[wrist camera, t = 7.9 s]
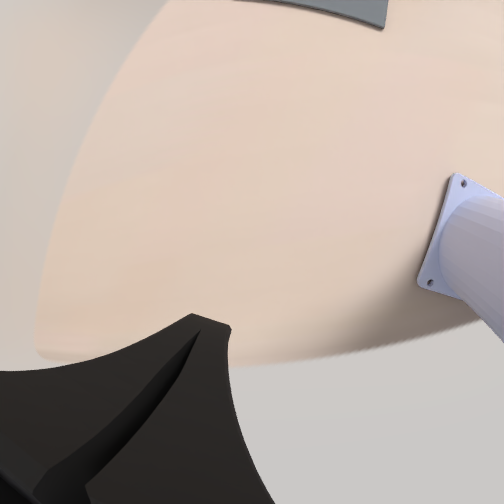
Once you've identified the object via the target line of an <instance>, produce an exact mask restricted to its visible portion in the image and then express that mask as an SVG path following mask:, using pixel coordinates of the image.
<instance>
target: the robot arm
mask: <svg viewBox="0 0 504 504" xmlns="http://www.w3.org/2000/svg"><path fill="white" fill-rule="evenodd" d="M462 180H463V181H464V186H463V187H462V186H461V181H462ZM430 279H431V283H430V284H427V282H428V280H430ZM417 284H418V285H419V286H420V287H421V288H424V289H428V290H431V291H434V292H437V293H441V294H444V295H447V296H450V297H453V298H457V299H460V300H463V301H464V302H465V303H466V304H467V305H468V306H469V307H470V308H471V309H472V310H473V311H474V312H475V313H476V314H477V315H478V316H479V317H480V318H481V319H482V320H483V321H484V322H485V323H486V324H487V325H488V326H489V327H490V328H491V329H492V330H493V331H494V333H495V334H496V335H497V336H498V337H499V338H500V339H501V340H502V341H503V343H504V198H502V197H501V196H499V195H497V194H496V193H494V192H492V191H491V190H489V189H487V188H485V187H484V186H482V185H480V184H478V183H476V182H475V181H473V180H471V179H469V178H467V177H465V176H463V175H461V174H459V173H453V174H452V175H451V177H450V181H449V185H448V188H447V192H446V196H445V199H444V203H443V206H442V209H441V213H440V216H439V219H438V222H437V225H436V228H435V231H434V234H433V237H432V240H431V243H430V246H429V248H428V251H427V254H426V256H425V259H424V262H423V264H422V267H421V269H420V272H419V274H418V277H417ZM231 330H232V329H231V328H230V326H229V325H227V324H224V323H221V322H217V321H214V320H211V319H208V318H205V317H202V316H199V315H196V314H193V313H191V314H189V315H187V316H185V317H183V318H182V319H180V320H178V321H177V322H175V323H173V324H171V325H170V326H168V327H166V328H164V329H162V330H161V331H159V332H157V333H155V334H153V335H151V336H149V337H147V338H145V339H143V340H141V341H139V342H137V343H134V344H132V345H130V346H128V347H125V348H123V349H121V350H118V351H116V352H113V353H110V354H107V355H104V356H101V357H98V358H95V359H91V360H88V361H84V362H79V363H75V364H70V365H65V366H60V367H55V368H48V369H39V370H27V371H0V504H275V503H274V501H273V500H272V498H271V496H270V494H269V493H268V491H267V489H266V487H265V485H264V484H263V482H262V480H261V478H260V476H259V474H258V472H257V470H256V468H255V465H254V463H253V460H252V458H251V456H250V454H249V451H248V448H247V446H246V444H245V441H244V438H243V436H242V432H241V429H240V426H239V423H238V419H237V416H236V412H235V408H234V404H233V399H232V394H231V387H230V381H229V373H228V372H229V371H228V341H229V338H230V334H231Z"/></svg>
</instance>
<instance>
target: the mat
mask: <svg viewBox="0 0 504 504" xmlns="http://www.w3.org/2000/svg"><path fill="white" fill-rule="evenodd" d="M269 1H276V2H283V3H289V4H295V5H300V6H305V7H310V8H315V9H319V10H323V11H327V12H331V13H335V14H339V15H342V16H346V17H349V18H353V19H356V20H359V21H362V22H365V23H368V24H371V25H374V26H377V27H380V28H383V29H384V27H385V21H386V14H387V7H388V0H269Z"/></svg>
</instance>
